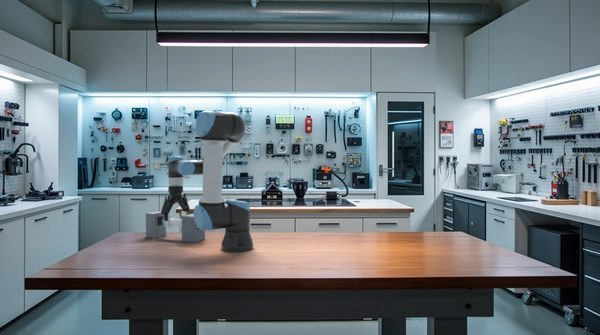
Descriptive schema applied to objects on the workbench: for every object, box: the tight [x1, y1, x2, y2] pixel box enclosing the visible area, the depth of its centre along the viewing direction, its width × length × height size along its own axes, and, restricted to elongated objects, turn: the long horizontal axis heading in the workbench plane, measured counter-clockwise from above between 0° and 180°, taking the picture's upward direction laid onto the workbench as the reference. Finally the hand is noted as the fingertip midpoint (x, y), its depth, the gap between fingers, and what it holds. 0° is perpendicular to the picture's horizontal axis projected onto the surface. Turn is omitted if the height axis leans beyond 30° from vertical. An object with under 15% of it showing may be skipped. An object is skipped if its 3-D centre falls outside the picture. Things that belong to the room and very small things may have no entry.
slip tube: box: [162, 217, 198, 228], centre depth 222 cm, size 25×4×4 cm, turn 67°
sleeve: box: [181, 213, 206, 243], centre depth 220 cm, size 8×9×13 cm
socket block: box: [145, 210, 167, 239], centre depth 230 cm, size 6×9×13 cm, turn 157°
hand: (175, 225), depth 224 cm, fingers open, 13 cm apart
